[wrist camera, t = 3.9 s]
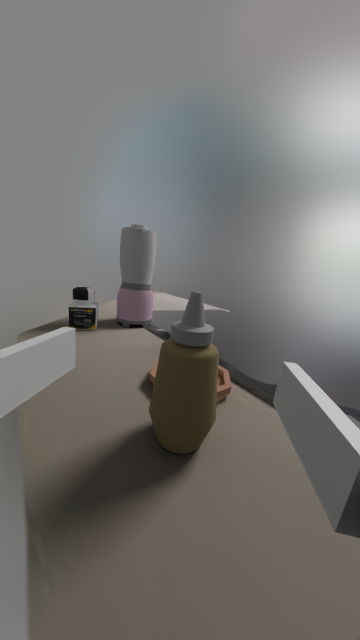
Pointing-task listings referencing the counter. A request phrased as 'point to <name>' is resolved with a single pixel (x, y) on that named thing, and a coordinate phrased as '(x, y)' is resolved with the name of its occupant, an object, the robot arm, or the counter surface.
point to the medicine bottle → (83, 309)
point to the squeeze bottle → (186, 382)
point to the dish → (222, 383)
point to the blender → (136, 276)
